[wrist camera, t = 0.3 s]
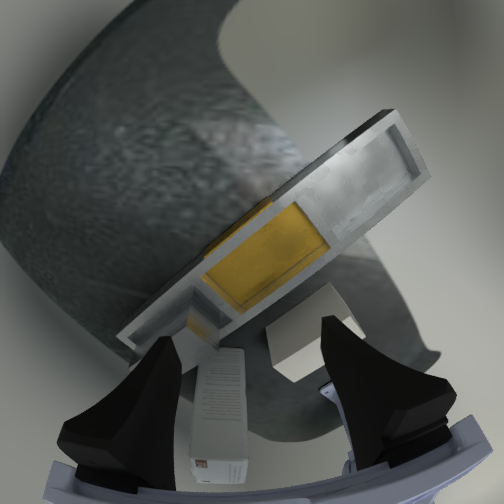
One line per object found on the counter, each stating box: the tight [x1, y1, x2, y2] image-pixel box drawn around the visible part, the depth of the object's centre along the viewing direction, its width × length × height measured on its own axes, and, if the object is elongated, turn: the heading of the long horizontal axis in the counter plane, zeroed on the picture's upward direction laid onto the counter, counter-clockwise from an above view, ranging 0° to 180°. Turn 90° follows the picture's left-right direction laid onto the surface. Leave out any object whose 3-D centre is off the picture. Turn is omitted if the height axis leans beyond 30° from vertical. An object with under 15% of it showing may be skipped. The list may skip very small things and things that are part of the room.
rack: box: [116, 109, 431, 374], centre depth 19 cm, size 6×29×6 cm, turn 130°
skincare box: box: [188, 347, 249, 484], centre depth 20 cm, size 6×4×12 cm
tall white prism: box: [265, 282, 366, 382], centre depth 22 cm, size 3×7×5 cm, turn 129°
